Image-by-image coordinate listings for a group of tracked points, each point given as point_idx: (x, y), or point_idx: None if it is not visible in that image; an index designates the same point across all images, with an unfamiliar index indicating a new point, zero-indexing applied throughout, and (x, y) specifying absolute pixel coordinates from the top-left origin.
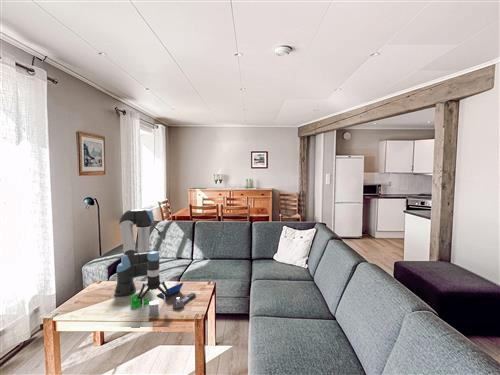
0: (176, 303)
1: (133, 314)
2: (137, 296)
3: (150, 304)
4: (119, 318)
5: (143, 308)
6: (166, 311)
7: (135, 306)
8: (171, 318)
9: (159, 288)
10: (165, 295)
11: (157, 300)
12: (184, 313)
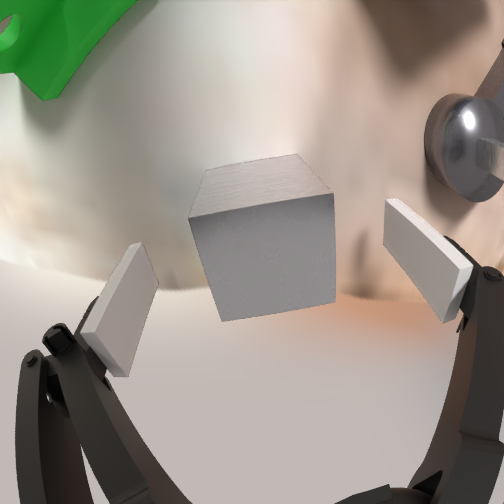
0: (475, 162)
1: (77, 207)
2: (2, 17)
3: (231, 305)
4: (26, 254)
5: (155, 290)
6: (374, 194)
7: (43, 98)
8: (390, 299)
9: (432, 488)
10: (464, 324)
11: (323, 199)
12: (466, 250)
